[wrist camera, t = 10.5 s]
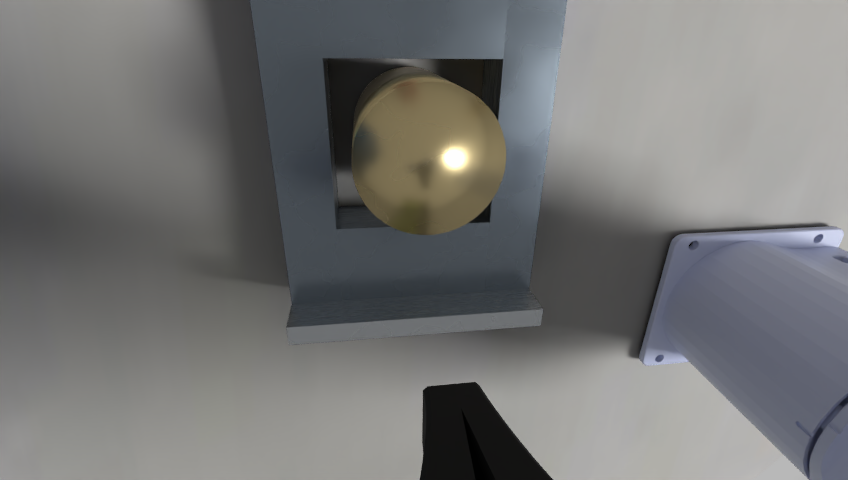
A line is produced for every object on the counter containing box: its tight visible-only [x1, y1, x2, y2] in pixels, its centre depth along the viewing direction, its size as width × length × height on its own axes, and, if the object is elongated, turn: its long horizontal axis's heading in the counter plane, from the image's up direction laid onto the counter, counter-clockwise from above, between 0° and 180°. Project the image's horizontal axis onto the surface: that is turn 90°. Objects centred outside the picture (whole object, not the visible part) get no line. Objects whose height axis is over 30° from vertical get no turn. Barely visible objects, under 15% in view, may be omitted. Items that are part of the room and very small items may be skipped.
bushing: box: [352, 67, 506, 235], centre depth 15 cm, size 4×4×6 cm
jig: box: [250, 0, 567, 345], centre depth 16 cm, size 10×14×4 cm
